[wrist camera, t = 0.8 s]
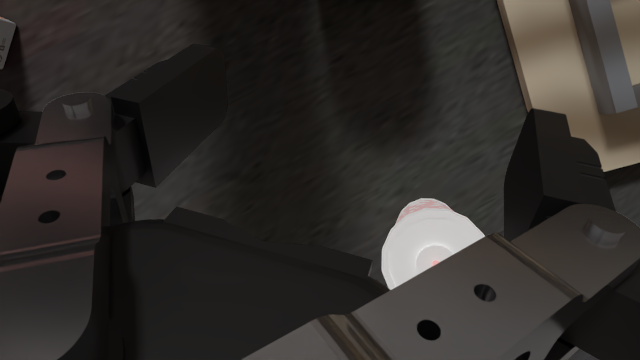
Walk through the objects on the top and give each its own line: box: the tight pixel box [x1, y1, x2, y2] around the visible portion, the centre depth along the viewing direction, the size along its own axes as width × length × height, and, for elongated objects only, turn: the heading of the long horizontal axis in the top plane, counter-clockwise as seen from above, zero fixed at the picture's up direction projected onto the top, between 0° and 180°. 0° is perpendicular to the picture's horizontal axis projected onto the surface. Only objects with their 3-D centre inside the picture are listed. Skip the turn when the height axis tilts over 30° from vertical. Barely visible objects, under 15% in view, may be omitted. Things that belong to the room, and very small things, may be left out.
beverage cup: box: [382, 199, 485, 290], centre depth 28 cm, size 6×6×14 cm
